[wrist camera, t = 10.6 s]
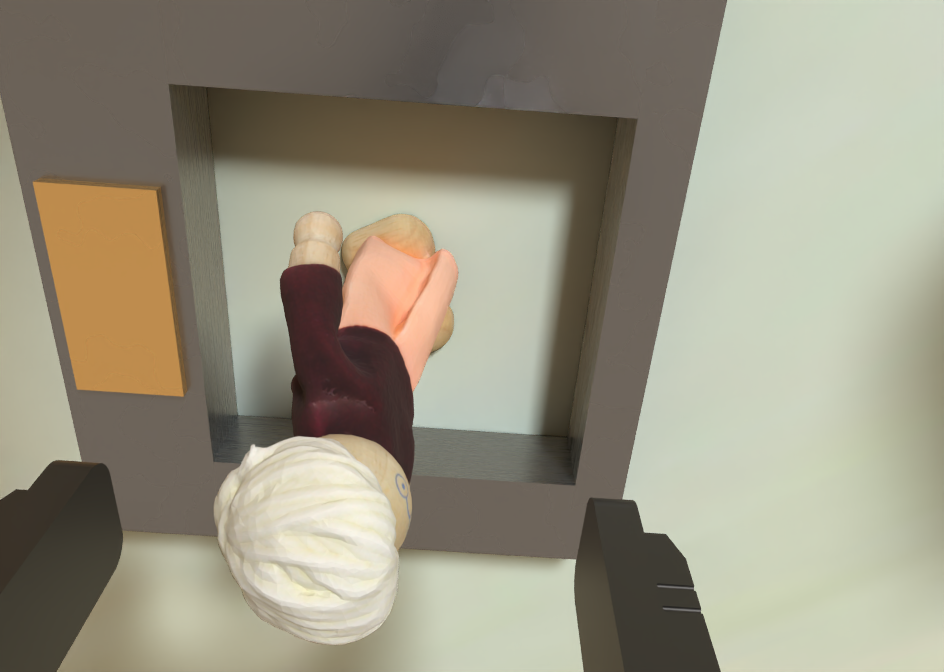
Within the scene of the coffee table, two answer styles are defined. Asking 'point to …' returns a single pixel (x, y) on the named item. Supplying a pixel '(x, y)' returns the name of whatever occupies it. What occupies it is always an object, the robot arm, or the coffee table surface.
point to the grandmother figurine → (340, 431)
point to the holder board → (199, 242)
